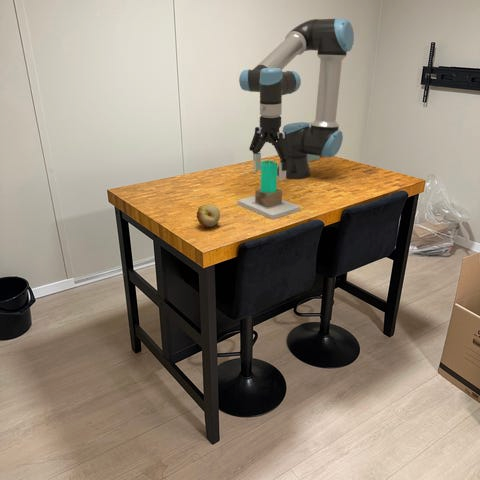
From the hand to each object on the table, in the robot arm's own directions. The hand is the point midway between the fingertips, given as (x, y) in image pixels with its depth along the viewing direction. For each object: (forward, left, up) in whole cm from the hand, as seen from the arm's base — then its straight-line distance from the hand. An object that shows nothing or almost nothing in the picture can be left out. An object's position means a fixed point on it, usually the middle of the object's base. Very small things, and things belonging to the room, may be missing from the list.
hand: (269, 174), depth 169 cm
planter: (-40, +63, -13) cm, 75 cm away
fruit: (+1, -28, -13) cm, 31 cm away
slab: (0, 0, -13) cm, 13 cm away
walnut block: (0, 0, -11) cm, 11 cm away
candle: (0, 0, -6) cm, 6 cm away
